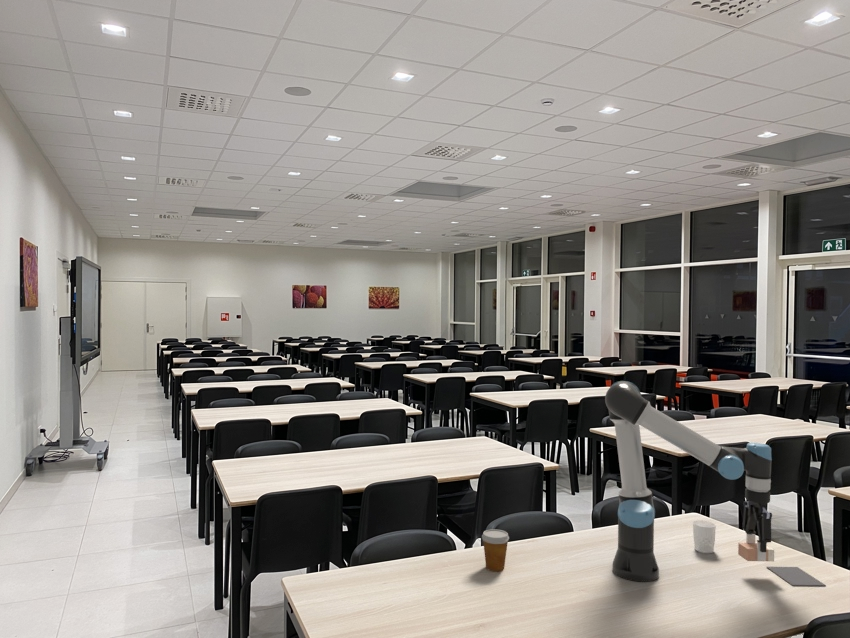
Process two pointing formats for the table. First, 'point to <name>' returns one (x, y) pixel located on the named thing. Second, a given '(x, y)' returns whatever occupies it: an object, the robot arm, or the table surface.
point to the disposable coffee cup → (495, 548)
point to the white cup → (704, 536)
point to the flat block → (754, 552)
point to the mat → (795, 576)
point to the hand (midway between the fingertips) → (755, 556)
